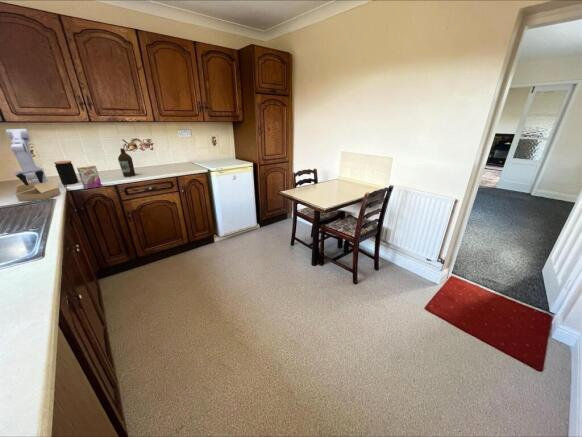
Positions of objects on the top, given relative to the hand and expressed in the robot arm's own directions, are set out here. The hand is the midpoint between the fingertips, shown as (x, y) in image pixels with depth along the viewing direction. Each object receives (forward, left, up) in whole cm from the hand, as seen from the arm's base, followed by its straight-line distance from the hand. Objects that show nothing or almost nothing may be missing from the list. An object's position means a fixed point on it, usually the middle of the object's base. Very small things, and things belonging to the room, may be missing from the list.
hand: (34, 184), depth 161 cm
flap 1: (-4, -10, -3) cm, 11 cm away
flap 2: (-4, +3, -3) cm, 6 cm away
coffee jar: (-43, -13, -11) cm, 46 cm away
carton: (-4, -3, -11) cm, 12 cm away
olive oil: (-67, +22, -11) cm, 71 cm away
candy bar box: (-29, +15, -11) cm, 34 cm away
